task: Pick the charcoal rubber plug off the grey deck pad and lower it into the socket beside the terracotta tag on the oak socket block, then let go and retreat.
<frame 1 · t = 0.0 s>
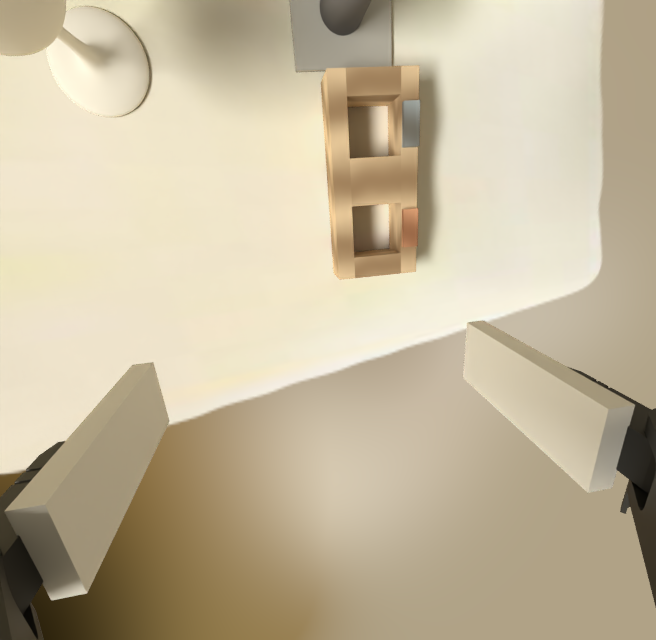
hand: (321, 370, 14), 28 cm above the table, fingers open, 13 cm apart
plug: (341, 8, 33), resting on deck pad
deck pad: (341, 10, 33), on the table
wineglass: (101, 65, 32), on the table
socket block: (366, 183, 39), on the table
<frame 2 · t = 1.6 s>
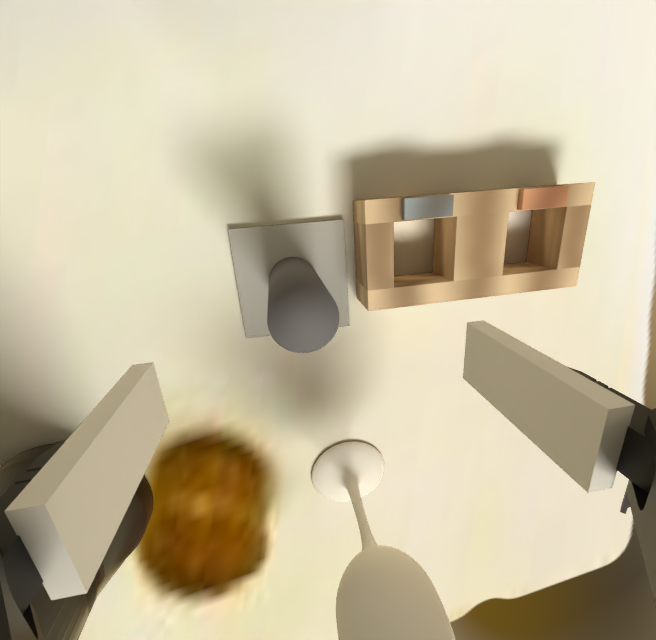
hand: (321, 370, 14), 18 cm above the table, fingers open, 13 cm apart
plug: (293, 281, 31), resting on deck pad
deck pad: (293, 280, 31), on the table
wineglass: (347, 470, 40), on the table
socket block: (456, 242, 32), on the table
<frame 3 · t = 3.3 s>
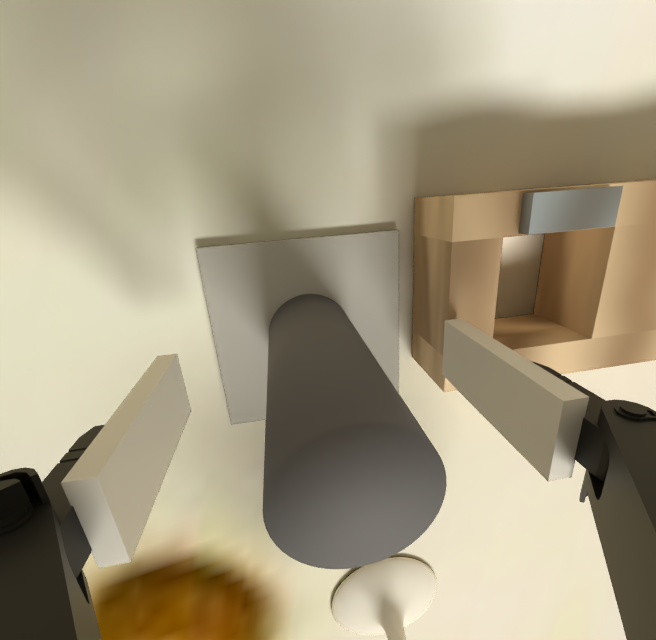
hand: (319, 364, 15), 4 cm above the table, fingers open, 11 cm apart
plug: (310, 333, 18), resting on deck pad
deck pad: (309, 330, 19), on the table
wineglass: (383, 592, 27), on the table
socket block: (575, 266, 20), on the table
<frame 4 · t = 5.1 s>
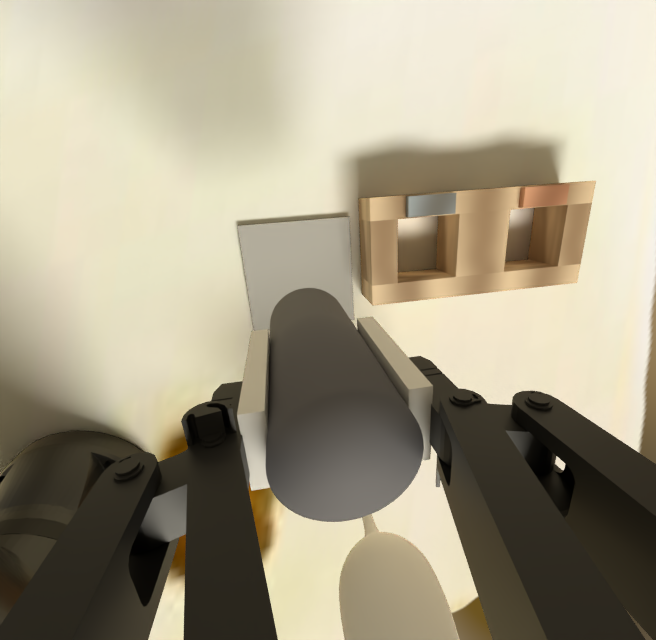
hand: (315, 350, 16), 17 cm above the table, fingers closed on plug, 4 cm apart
plug: (308, 324, 19), point 13 cm above the table, touching gripper
deck pad: (299, 275, 32), on the table
wineglass: (351, 461, 41), on the table
socket block: (459, 239, 33), on the table
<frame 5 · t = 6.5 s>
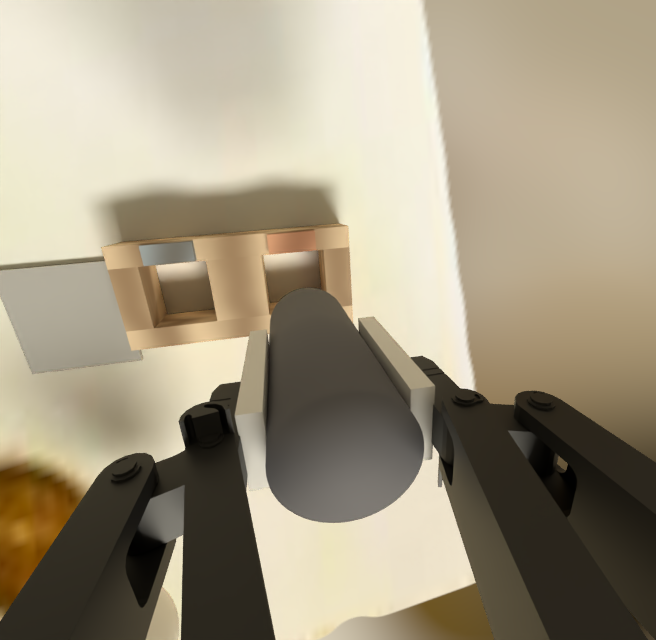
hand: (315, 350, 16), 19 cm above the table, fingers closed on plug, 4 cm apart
plug: (308, 324, 19), point 15 cm above the table, touching gripper
deck pad: (73, 317, 32), on the table
wineglass: (173, 496, 40), on the table
socket block: (242, 279, 33), on the table
when the fingers open (5 cm above the table, at t = 9.2 s): plug drops 2 cm, resting in socket block.
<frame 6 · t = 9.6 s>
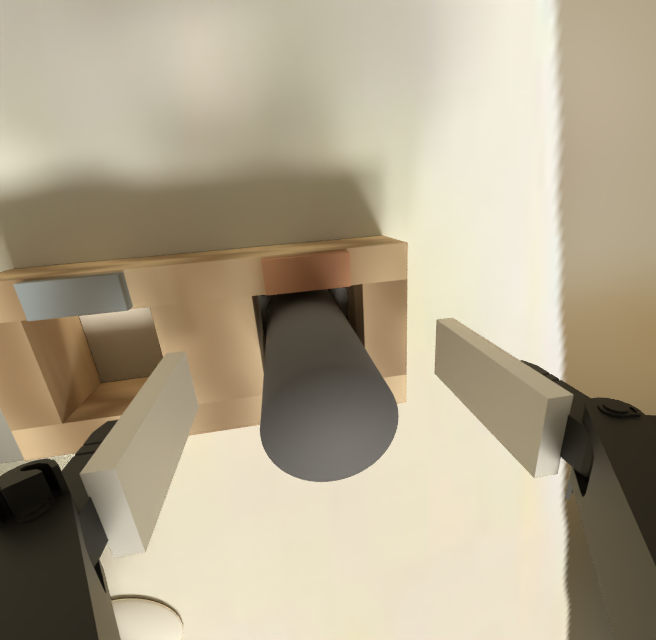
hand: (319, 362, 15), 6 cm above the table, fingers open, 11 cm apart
plug: (303, 316, 21), resting in socket block
wineglass: (128, 630, 28), on the table
socket block: (223, 326, 20), on the table
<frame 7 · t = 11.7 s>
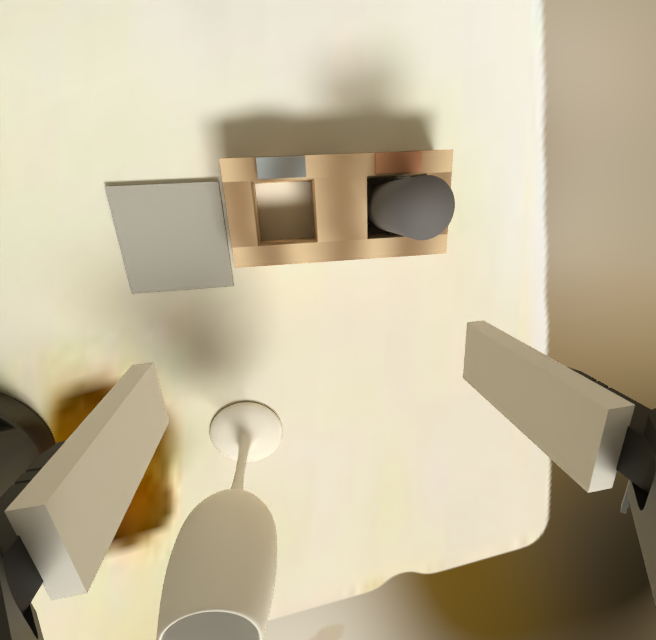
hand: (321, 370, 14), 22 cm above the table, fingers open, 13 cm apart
plug: (382, 206, 34), resting in socket block
deck pad: (174, 239, 33), on the table
wineglass: (247, 430, 41), on the table
socket block: (335, 208, 34), on the table
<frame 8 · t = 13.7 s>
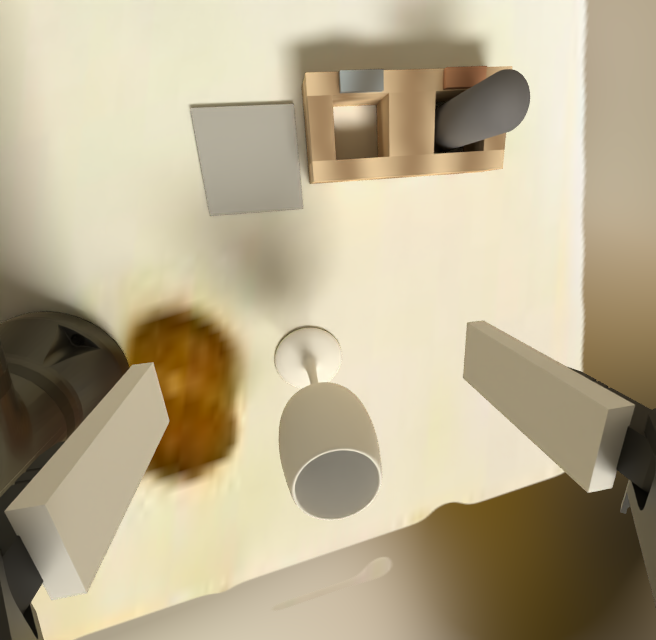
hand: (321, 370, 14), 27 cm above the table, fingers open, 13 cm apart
plug: (440, 130, 37), resting in socket block
deck pad: (250, 162, 35), on the table
wineglass: (308, 357, 44), on the table
socket block: (397, 132, 36), on the table
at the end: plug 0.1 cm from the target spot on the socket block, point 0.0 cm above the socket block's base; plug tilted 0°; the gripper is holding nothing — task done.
